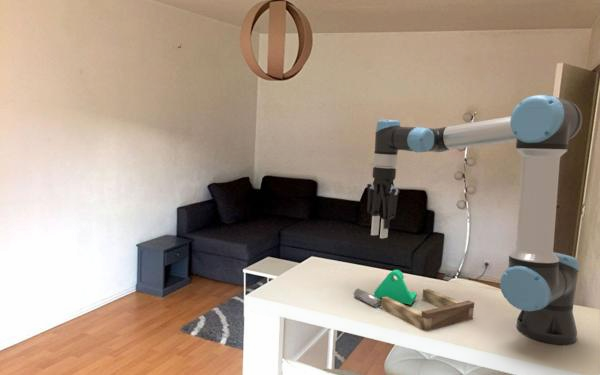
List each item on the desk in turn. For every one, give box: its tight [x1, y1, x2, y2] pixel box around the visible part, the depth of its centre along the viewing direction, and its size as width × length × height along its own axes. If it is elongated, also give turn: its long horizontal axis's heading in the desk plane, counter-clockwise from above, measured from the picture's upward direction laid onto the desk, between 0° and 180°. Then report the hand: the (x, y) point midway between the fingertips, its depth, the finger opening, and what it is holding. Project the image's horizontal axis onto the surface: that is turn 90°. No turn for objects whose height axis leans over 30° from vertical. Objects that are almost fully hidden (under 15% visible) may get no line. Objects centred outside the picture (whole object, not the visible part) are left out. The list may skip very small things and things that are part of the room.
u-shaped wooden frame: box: [380, 288, 475, 332], centre depth 144 cm, size 18×20×5 cm
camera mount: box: [373, 269, 418, 305], centre depth 154 cm, size 12×8×10 cm, turn 62°
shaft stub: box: [353, 288, 382, 309], centre depth 151 cm, size 10×3×3 cm, turn 33°
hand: (379, 236), depth 161 cm, fingers open, 4 cm apart
